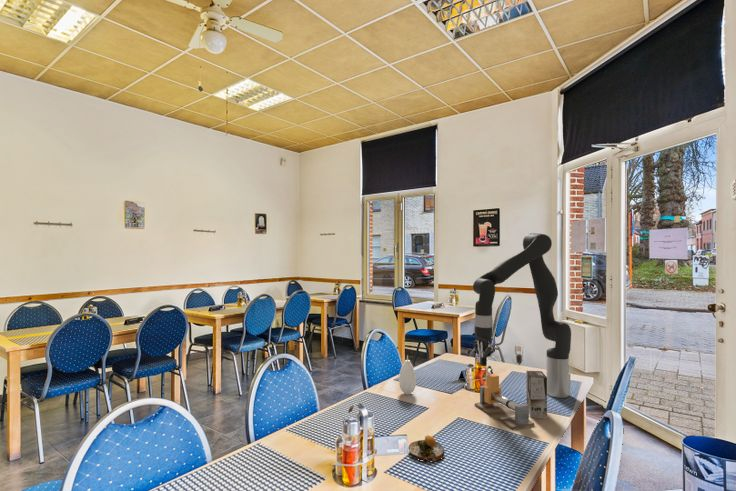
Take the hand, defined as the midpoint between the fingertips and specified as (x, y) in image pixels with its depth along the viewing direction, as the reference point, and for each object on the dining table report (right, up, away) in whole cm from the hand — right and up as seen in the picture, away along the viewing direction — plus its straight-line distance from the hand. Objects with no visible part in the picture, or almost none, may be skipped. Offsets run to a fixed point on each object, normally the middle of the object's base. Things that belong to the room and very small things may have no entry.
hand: (483, 365), depth 176 cm
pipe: (+4, -16, -12) cm, 21 cm away
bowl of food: (-30, -17, -42) cm, 54 cm away
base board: (+4, -16, -12) cm, 21 cm away
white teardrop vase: (-32, -17, +11) cm, 37 cm away
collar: (+2, -13, -6) cm, 15 cm away
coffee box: (+19, -17, -10) cm, 27 cm away
